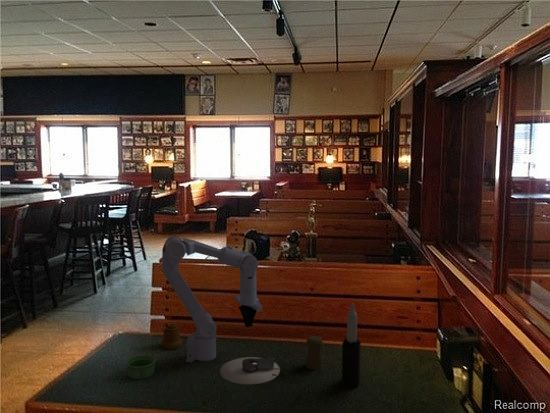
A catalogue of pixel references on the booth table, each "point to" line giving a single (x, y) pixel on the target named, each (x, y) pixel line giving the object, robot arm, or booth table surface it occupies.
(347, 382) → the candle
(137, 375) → the ramekin
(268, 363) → the dial pointer
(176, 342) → the ornamental finial
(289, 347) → the booth table surface
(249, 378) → the dial plate
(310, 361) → the cork
